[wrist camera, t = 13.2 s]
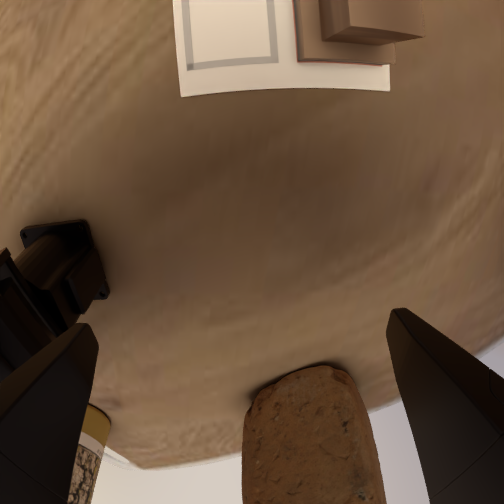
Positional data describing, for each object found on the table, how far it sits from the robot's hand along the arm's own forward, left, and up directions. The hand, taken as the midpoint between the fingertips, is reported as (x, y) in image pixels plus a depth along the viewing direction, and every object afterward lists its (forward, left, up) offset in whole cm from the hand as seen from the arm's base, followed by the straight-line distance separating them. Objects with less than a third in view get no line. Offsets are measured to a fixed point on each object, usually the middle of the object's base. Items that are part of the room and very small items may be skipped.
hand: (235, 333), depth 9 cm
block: (+4, -20, -12) cm, 24 cm away
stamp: (+6, +10, -12) cm, 16 cm away
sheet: (+3, +10, -12) cm, 16 cm away
